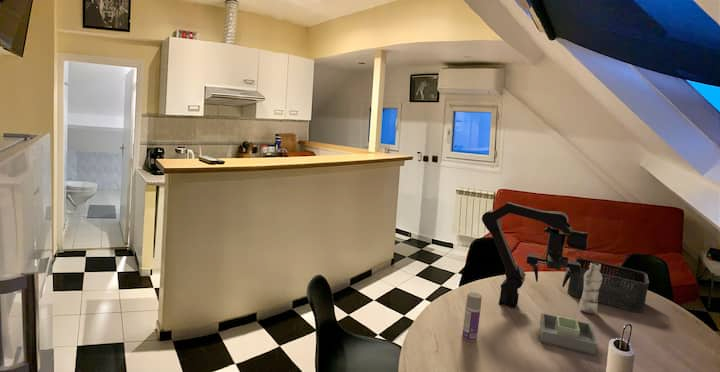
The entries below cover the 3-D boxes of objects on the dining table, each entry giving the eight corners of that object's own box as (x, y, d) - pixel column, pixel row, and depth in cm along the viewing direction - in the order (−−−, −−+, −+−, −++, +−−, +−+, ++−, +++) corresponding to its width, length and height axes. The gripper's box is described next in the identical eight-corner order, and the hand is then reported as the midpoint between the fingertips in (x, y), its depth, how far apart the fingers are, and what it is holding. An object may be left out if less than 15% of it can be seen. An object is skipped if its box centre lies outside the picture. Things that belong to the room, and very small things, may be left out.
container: (477, 336, 137) (482, 293, 135) (476, 343, 133) (481, 299, 131) (462, 333, 139) (468, 291, 136) (461, 339, 134) (466, 296, 132)
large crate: (540, 342, 137) (542, 331, 136) (539, 322, 151) (541, 312, 151) (595, 356, 131) (597, 344, 130) (588, 334, 145) (590, 323, 145)
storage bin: (641, 300, 183) (647, 271, 181) (643, 315, 167) (649, 283, 165) (570, 283, 198) (574, 256, 196) (566, 295, 182) (570, 266, 180)
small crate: (555, 339, 138) (558, 325, 137) (554, 328, 146) (556, 315, 145) (577, 345, 135) (579, 331, 135) (575, 333, 144) (577, 320, 143)
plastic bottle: (599, 316, 161) (608, 268, 158) (581, 314, 162) (589, 265, 159) (593, 310, 167) (601, 262, 164) (576, 307, 169) (583, 260, 166)
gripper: (529, 245, 152) (523, 285, 154) (585, 255, 145) (579, 297, 147) (529, 239, 162) (523, 276, 164) (582, 247, 155) (575, 287, 157)
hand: (549, 284), depth 158 cm, fingers open, 9 cm apart
